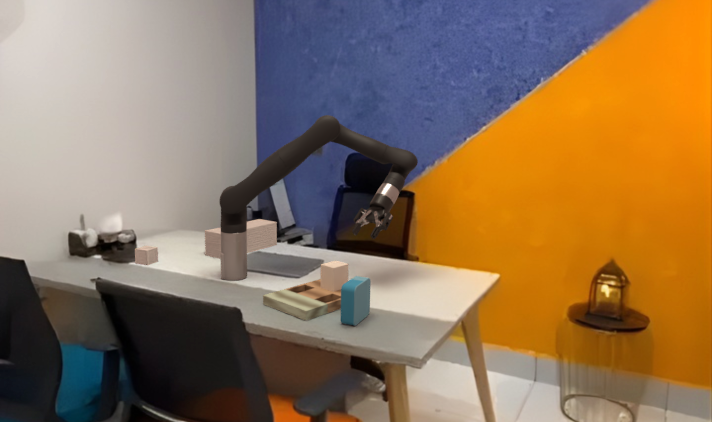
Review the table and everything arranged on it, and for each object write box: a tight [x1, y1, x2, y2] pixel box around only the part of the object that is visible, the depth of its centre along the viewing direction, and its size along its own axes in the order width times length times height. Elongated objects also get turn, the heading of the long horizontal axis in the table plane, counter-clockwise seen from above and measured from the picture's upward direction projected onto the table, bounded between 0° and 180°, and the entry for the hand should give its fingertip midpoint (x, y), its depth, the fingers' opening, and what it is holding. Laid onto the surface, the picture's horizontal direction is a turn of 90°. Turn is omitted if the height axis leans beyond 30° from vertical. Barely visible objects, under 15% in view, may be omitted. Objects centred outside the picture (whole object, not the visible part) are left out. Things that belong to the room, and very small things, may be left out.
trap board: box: [262, 278, 341, 321], centre depth 190 cm, size 26×20×3 cm
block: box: [320, 260, 350, 292], centre depth 195 cm, size 7×6×8 cm
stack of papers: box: [204, 218, 278, 260], centre depth 253 cm, size 32×11×11 cm, turn 145°
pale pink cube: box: [134, 245, 159, 266], centre depth 231 cm, size 6×6×6 cm
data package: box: [340, 275, 372, 327], centre depth 175 cm, size 12×4×12 cm, turn 157°
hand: (363, 235), depth 203 cm, fingers open, 8 cm apart
